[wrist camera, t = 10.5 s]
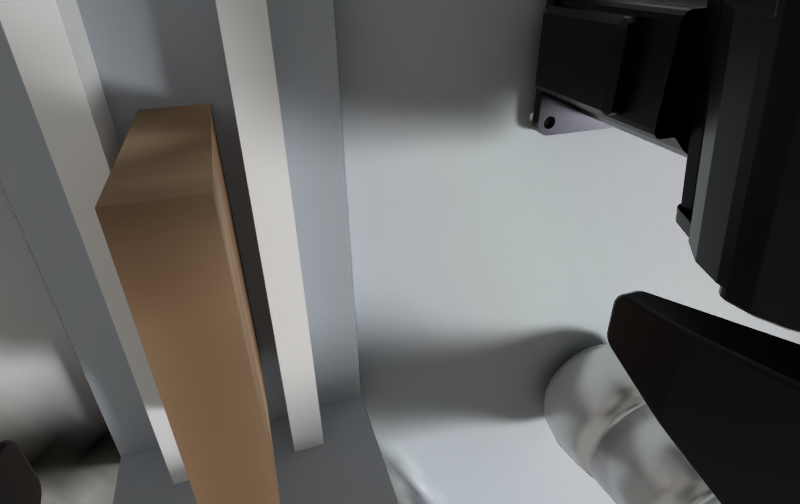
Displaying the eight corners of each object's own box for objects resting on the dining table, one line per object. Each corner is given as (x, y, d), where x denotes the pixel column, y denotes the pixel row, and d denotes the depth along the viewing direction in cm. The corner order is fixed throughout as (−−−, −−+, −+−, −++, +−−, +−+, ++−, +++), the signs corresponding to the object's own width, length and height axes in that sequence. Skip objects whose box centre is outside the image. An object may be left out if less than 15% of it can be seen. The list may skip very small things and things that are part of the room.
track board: (320, -86, 15) (411, -119, 8) (357, 405, 25) (412, 568, 18) (-98, -89, 12) (-460, -142, 6) (134, 462, 22) (104, 676, 16)
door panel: (210, 103, 15) (212, 192, 10) (260, 356, 20) (281, 514, 15) (138, 109, 15) (94, 207, 9) (208, 368, 20) (208, 536, 14)
